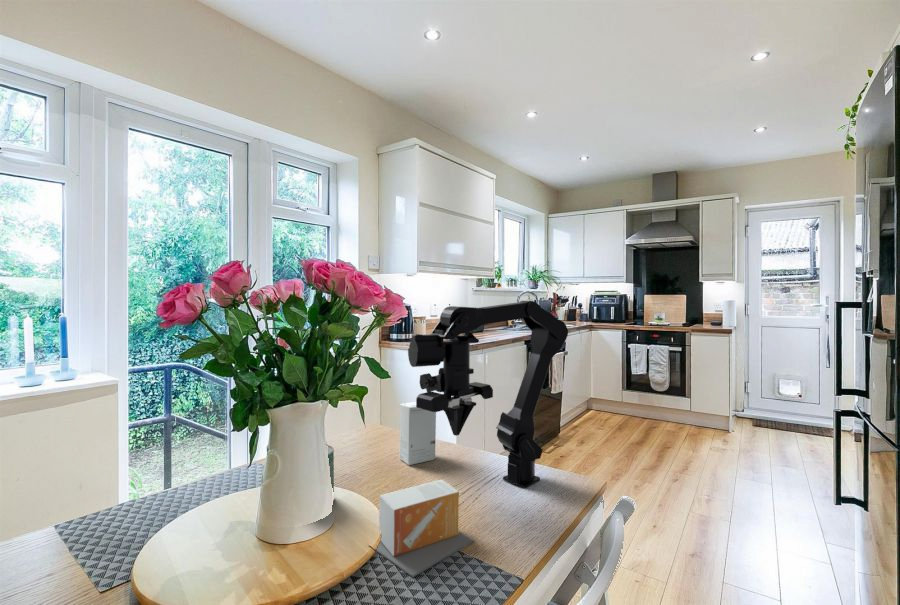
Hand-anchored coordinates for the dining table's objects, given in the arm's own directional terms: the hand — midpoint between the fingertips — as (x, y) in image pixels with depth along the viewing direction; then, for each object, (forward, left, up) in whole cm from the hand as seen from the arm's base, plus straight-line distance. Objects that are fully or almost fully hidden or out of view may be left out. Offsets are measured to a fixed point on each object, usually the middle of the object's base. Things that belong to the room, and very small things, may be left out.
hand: (456, 435), depth 95 cm
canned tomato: (+24, -18, -13) cm, 33 cm away
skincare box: (-7, -21, -13) cm, 26 cm away
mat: (+18, +9, -13) cm, 24 cm away
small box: (+11, +9, -9) cm, 17 cm away
